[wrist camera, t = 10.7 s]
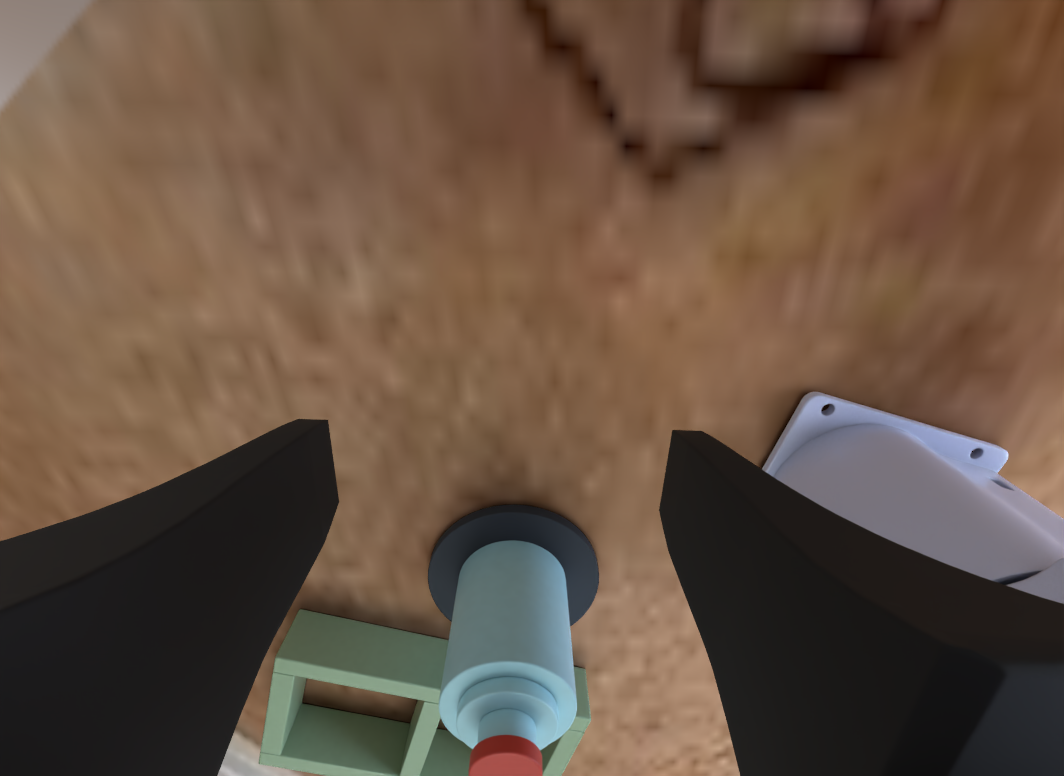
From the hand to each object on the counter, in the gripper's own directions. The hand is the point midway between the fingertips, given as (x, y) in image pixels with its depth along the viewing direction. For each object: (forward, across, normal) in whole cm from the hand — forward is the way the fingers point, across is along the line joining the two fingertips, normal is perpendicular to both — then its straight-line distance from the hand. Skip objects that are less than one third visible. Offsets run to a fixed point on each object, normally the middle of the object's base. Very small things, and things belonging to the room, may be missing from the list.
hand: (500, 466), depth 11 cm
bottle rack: (+10, +4, +21) cm, 23 cm away
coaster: (+10, 0, +12) cm, 16 cm away
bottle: (+9, 0, +12) cm, 15 cm away
